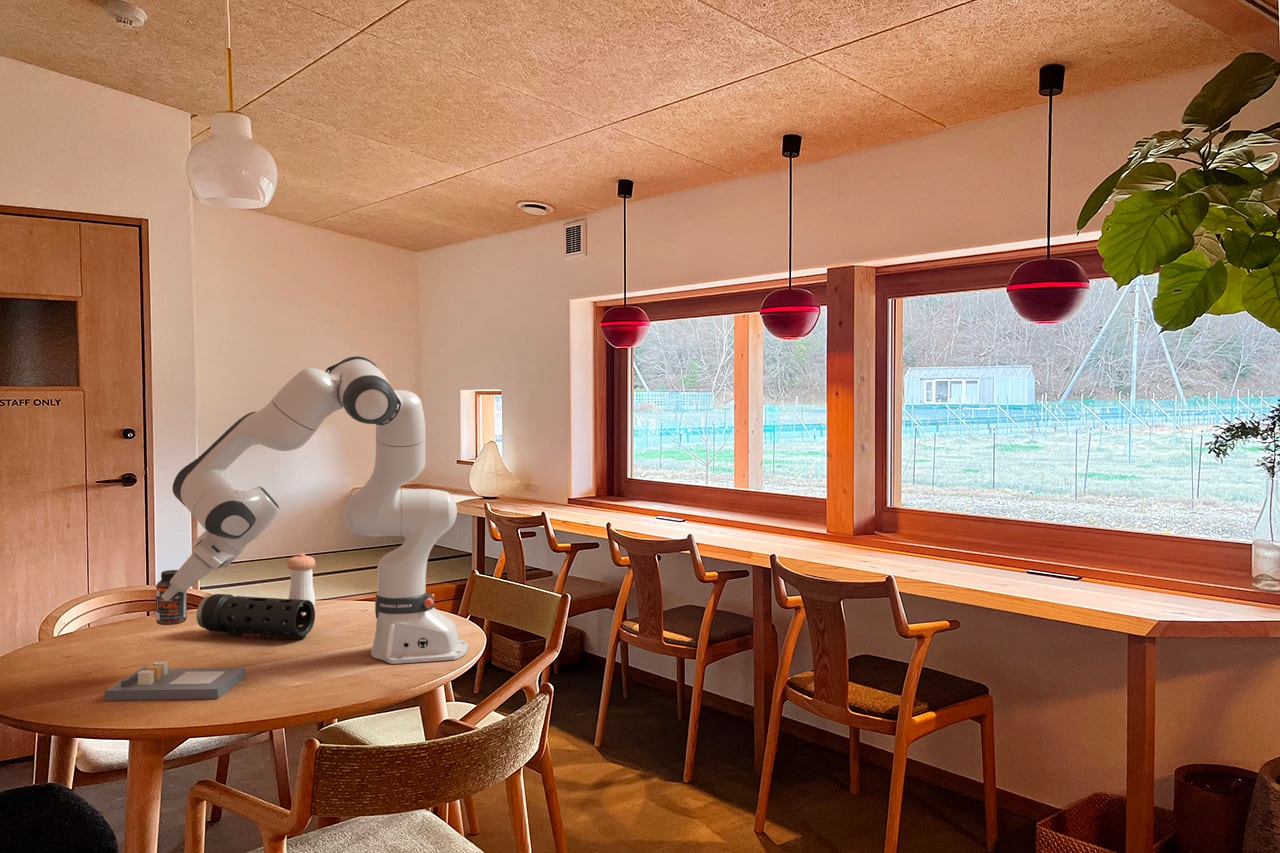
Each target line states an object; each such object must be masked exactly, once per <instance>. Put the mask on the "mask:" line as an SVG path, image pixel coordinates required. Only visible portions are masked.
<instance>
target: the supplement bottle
mask: <svg viewBox="0 0 1280 853" xmlns="http://www.w3.org/2000/svg"><path fill="white" fill-rule="evenodd" d="M178 570H179V569H168V570H163V571H162V572H161V573H160V574H161V575H160V578H161V580H160V581H158V582H157V583H156V586H155V587H156V589H155V599H156V600H155V619H156V620H155V621H156V624H158V625H160V626H175V625H179V624H182V623H185V622H186V621H187V618H188V616H187V610H188V609H187V606H188V604H187V593H188V592H187V591H188V589H187V590H186V591H184V592H180V591H179V592H178V593H176V594H175V595H174V596H173V597H172V598H171V599H170V600H169V601H165V600H164V599H163V598H162V597H161V596H162V594H163V593H164V592H165V591H166V590H167V589H168V588H169V587H170V586H171V584H170V580H171V579H172V577H173V576H174V575H175V574H176V572H177V571H178Z"/></svg>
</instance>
